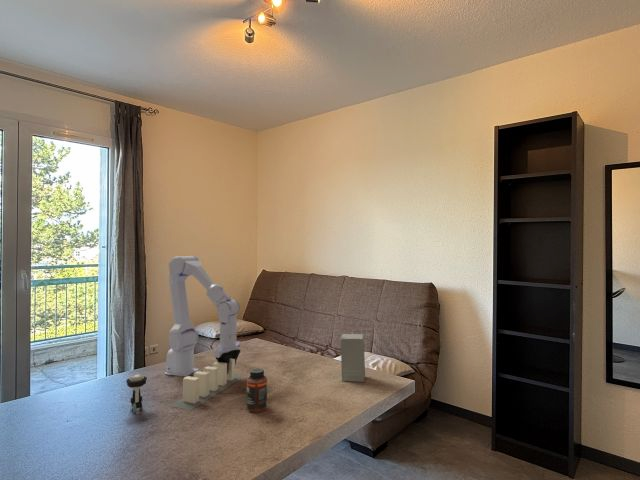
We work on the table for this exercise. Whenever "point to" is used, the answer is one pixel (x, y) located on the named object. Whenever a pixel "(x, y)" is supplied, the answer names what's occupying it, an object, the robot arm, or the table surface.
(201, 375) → the domino
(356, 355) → the skincare box
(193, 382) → the domino
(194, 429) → the table surface
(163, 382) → the table surface
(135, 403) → the push button
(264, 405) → the supplement bottle
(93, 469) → the table surface
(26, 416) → the table surface
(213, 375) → the domino
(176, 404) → the mat
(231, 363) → the domino
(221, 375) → the domino
